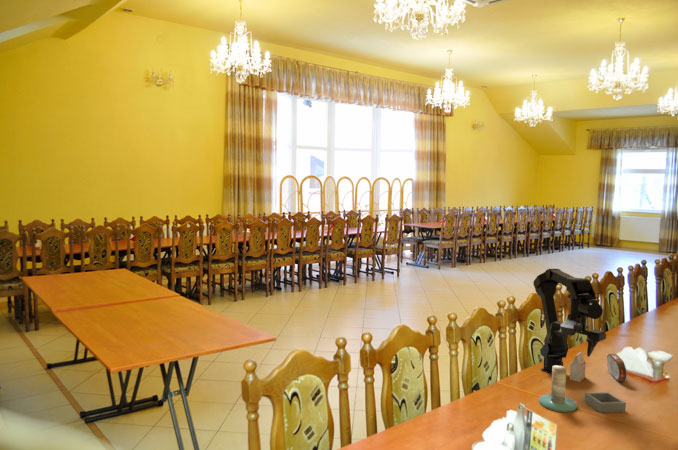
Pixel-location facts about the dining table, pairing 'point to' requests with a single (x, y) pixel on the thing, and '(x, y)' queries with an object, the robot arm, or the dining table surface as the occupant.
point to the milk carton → (578, 368)
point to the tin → (616, 367)
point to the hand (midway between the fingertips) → (576, 353)
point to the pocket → (599, 402)
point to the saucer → (566, 407)
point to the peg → (558, 384)
